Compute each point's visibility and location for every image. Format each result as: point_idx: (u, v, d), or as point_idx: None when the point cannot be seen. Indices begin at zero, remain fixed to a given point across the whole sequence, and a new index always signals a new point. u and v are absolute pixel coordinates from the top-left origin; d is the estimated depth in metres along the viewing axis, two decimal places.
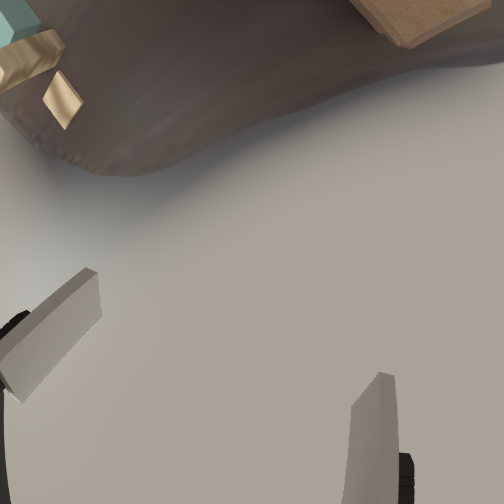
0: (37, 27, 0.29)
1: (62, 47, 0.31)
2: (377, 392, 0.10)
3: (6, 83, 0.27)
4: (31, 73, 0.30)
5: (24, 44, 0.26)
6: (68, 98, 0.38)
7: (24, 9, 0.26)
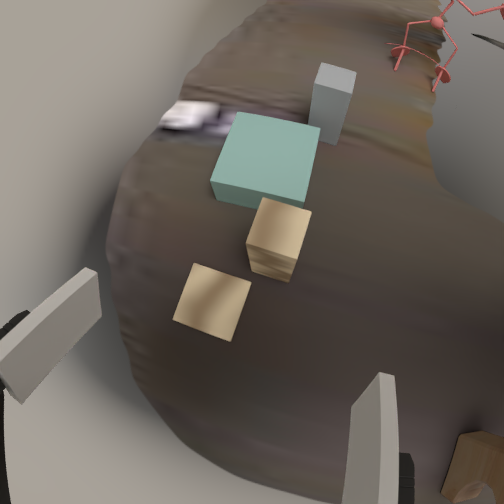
0: None
1: (288, 281, 0.39)
2: (377, 391, 0.10)
3: (264, 252, 0.30)
4: (258, 263, 0.35)
5: None
6: (223, 314, 0.38)
7: None
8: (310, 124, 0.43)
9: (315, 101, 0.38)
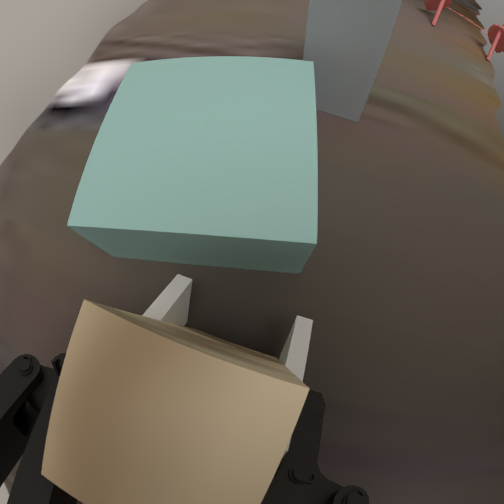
0: (284, 270, 0.18)
1: None
2: (292, 331, 0.13)
3: None
4: None
5: None
6: None
7: None
8: None
9: (318, 17, 0.14)
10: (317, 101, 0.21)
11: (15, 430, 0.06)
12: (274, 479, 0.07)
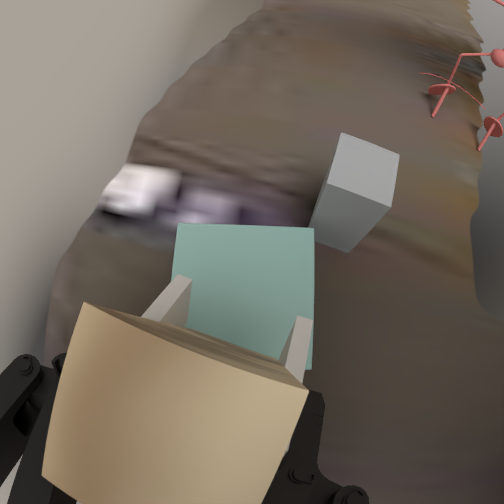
0: None
1: None
2: (292, 331, 0.13)
3: None
4: None
5: None
6: None
7: None
8: None
9: (325, 206, 0.24)
10: (319, 239, 0.31)
11: (15, 430, 0.06)
12: (274, 479, 0.07)
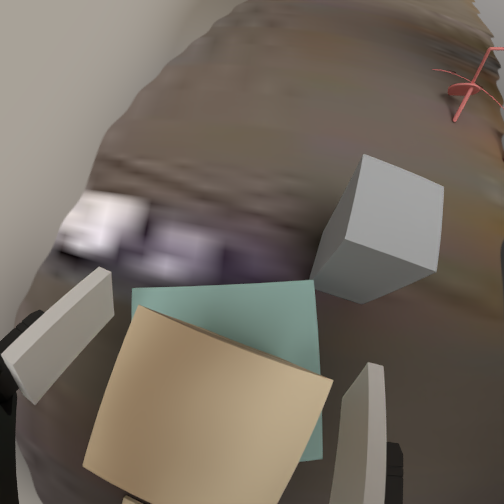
0: None
1: None
2: (366, 381, 0.11)
3: None
4: None
5: None
6: None
7: None
8: (318, 280, 0.22)
9: (339, 262, 0.17)
10: (326, 290, 0.24)
11: None
12: None
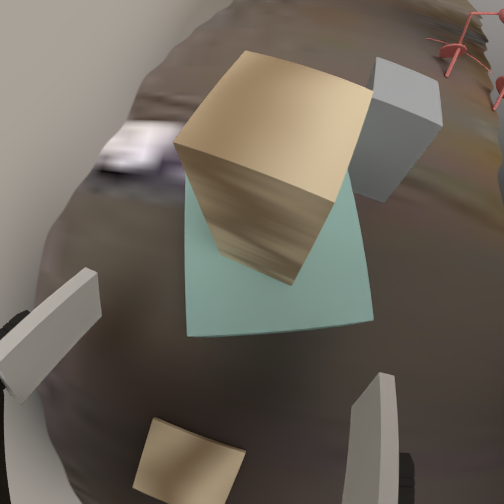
0: (339, 326, 0.24)
1: (292, 282, 0.19)
2: (377, 392, 0.10)
3: (231, 182, 0.10)
4: (227, 231, 0.15)
5: None
6: (205, 491, 0.20)
7: None
8: None
9: (367, 133, 0.19)
10: (353, 187, 0.26)
11: None
12: None
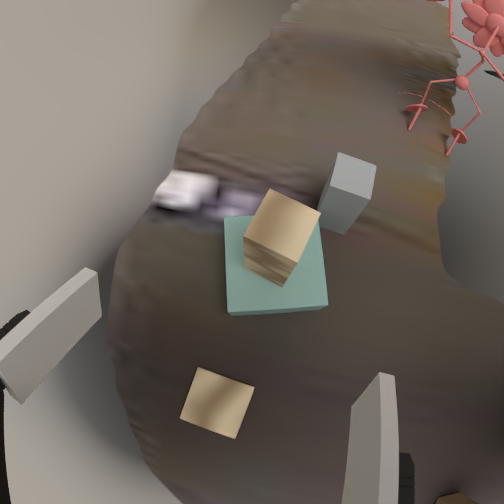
0: None
1: (282, 285, 0.36)
2: (378, 392, 0.10)
3: (262, 250, 0.27)
4: (253, 261, 0.32)
5: None
6: (228, 416, 0.37)
7: None
8: (319, 216, 0.42)
9: (328, 200, 0.37)
10: (323, 225, 0.44)
11: None
12: None
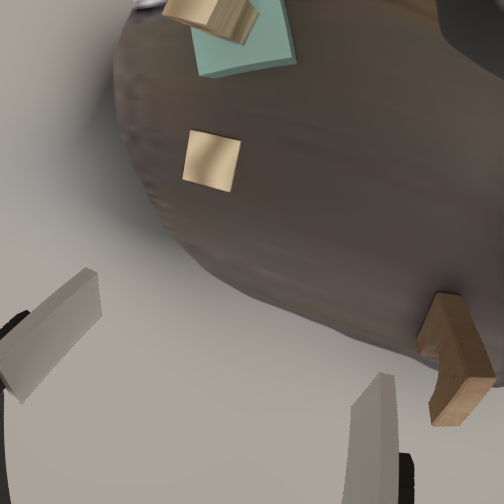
0: (289, 64, 0.36)
1: (242, 44, 0.31)
2: (377, 392, 0.10)
3: (183, 20, 0.22)
4: (198, 28, 0.27)
5: (240, 7, 0.24)
6: (221, 170, 0.45)
7: (289, 29, 0.32)
8: None
9: None
10: None
11: None
12: None
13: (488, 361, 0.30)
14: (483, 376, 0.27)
